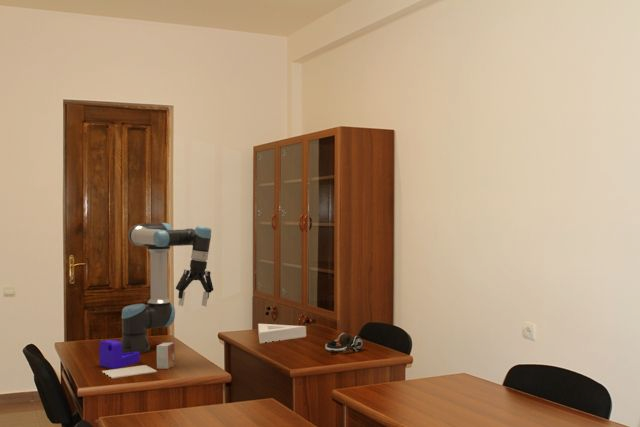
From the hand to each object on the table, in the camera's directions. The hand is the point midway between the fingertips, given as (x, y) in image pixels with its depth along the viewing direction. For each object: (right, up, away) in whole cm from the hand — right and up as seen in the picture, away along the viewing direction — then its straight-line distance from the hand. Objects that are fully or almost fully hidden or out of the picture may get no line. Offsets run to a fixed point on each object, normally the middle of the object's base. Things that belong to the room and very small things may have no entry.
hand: (192, 305), depth 335 cm
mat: (-26, -28, -13) cm, 40 cm away
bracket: (-33, -28, +4) cm, 44 cm away
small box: (-11, -28, -4) cm, 30 cm away
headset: (+70, -26, +26) cm, 79 cm away
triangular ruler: (+38, -27, +65) cm, 80 cm away
